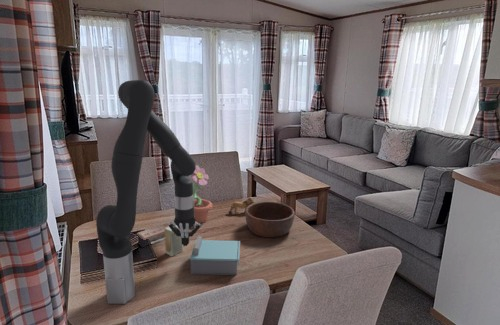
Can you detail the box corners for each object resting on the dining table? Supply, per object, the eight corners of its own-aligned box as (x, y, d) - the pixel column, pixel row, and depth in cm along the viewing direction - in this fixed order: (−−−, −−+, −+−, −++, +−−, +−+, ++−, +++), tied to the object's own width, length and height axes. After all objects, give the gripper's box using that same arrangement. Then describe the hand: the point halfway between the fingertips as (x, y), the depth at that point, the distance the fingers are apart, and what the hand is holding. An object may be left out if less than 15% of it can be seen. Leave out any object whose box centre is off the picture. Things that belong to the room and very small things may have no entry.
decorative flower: (199, 229, 170) (198, 172, 162) (179, 222, 177) (177, 167, 169) (217, 218, 183) (217, 165, 175) (197, 212, 189) (197, 161, 182)
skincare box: (176, 247, 152) (175, 222, 148) (183, 251, 149) (182, 225, 146) (164, 253, 147) (163, 227, 144) (171, 257, 144) (170, 230, 141)
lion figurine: (252, 210, 195) (252, 195, 193) (254, 213, 190) (255, 198, 188) (227, 212, 192) (227, 197, 189) (229, 215, 187) (229, 200, 184)
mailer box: (236, 274, 133) (236, 261, 131) (190, 273, 133) (190, 260, 131) (237, 256, 146) (238, 243, 145) (196, 255, 146) (196, 242, 144)
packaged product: (166, 220, 168) (176, 227, 161) (166, 229, 170) (176, 236, 163) (131, 231, 156) (141, 239, 149) (131, 240, 158) (141, 249, 151)
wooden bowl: (296, 222, 181) (298, 204, 178) (289, 244, 158) (290, 224, 155) (251, 216, 187) (252, 198, 185) (238, 236, 164) (238, 216, 161)
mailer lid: (239, 264, 131) (239, 252, 130) (190, 263, 131) (190, 251, 130) (240, 246, 145) (240, 234, 144) (196, 245, 145) (195, 233, 144)
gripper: (165, 208, 129) (167, 249, 133) (199, 209, 129) (200, 250, 134) (169, 201, 136) (171, 240, 141) (202, 202, 136) (203, 240, 141)
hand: (185, 244), depth 137 cm, fingers closed
